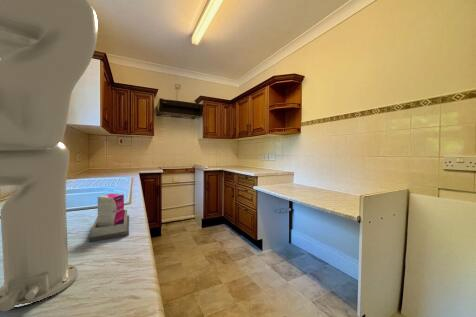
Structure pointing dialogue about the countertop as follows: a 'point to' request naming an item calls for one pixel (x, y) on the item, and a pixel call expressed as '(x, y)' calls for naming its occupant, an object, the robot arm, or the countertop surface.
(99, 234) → the grey open tray
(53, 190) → the robot arm
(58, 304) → the countertop surface
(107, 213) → the supplement box
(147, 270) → the countertop surface
